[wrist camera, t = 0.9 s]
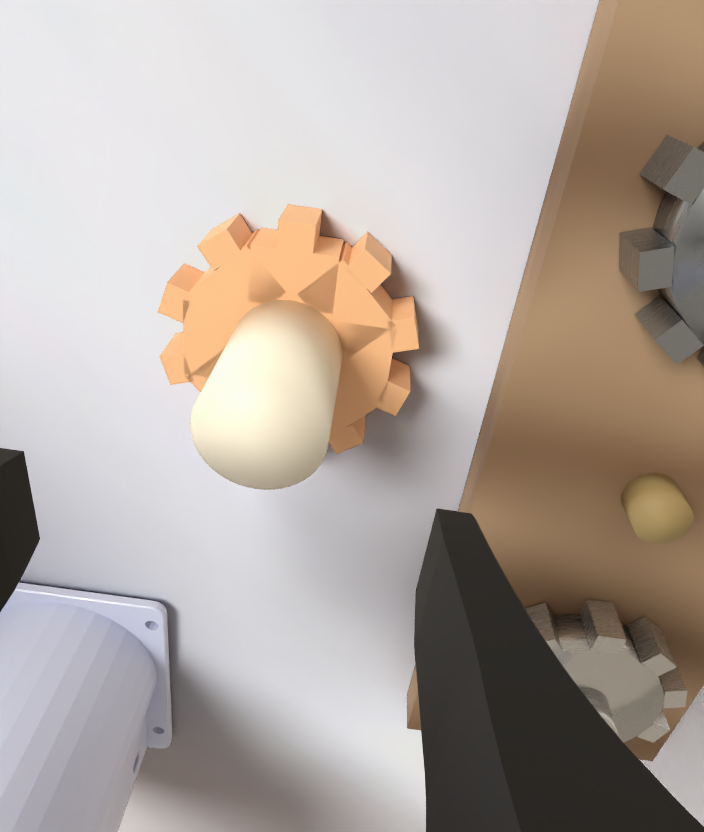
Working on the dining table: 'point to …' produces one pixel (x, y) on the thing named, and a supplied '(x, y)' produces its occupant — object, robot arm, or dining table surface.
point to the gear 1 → (616, 666)
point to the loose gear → (286, 346)
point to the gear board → (603, 366)
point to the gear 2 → (671, 251)
